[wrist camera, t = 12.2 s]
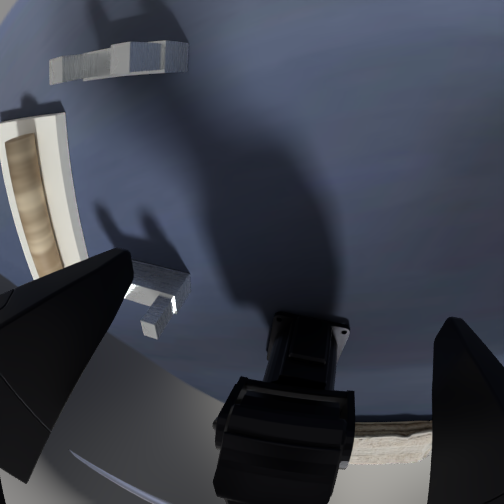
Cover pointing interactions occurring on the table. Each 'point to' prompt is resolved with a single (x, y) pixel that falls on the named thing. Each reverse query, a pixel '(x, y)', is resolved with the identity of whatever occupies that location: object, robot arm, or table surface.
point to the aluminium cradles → (124, 64)
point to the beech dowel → (32, 203)
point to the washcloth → (391, 442)
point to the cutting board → (48, 184)
